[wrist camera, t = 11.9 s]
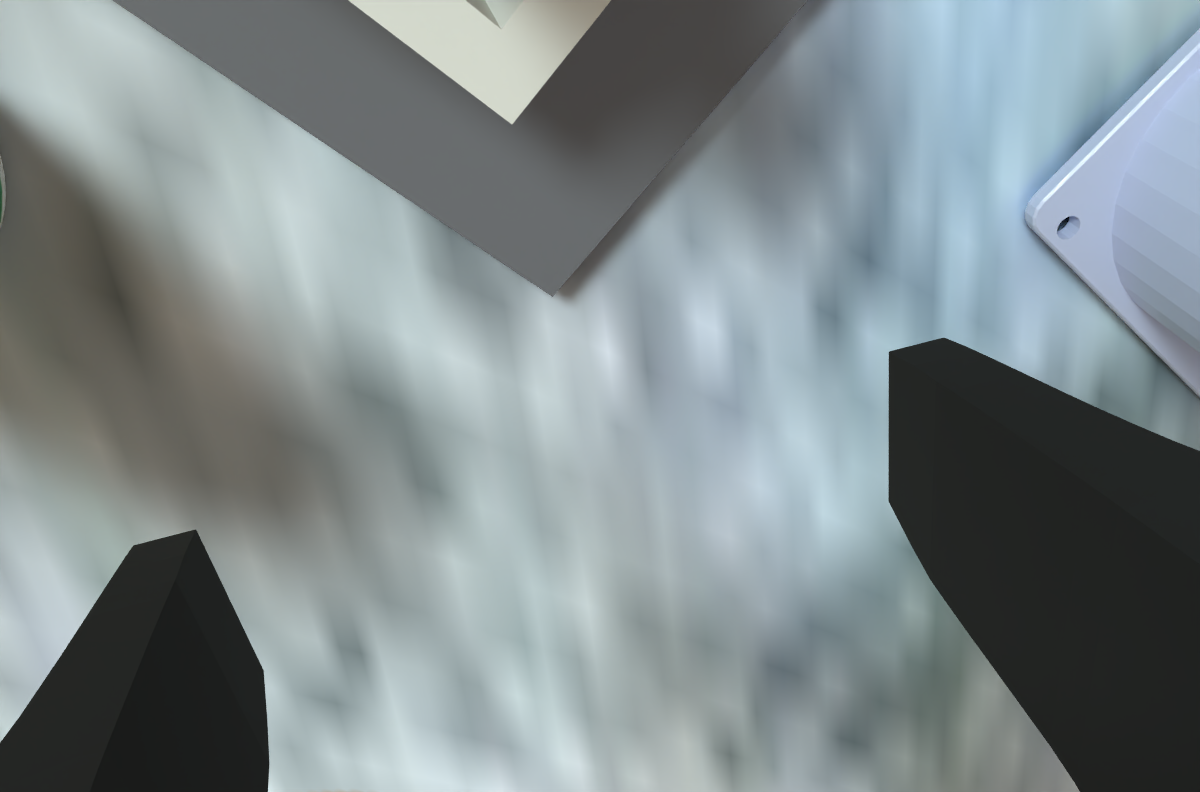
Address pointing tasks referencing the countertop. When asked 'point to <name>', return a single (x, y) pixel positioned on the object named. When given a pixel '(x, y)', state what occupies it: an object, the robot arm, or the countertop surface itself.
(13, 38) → the countertop surface
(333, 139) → the peg socket
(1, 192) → the supplement bottle
